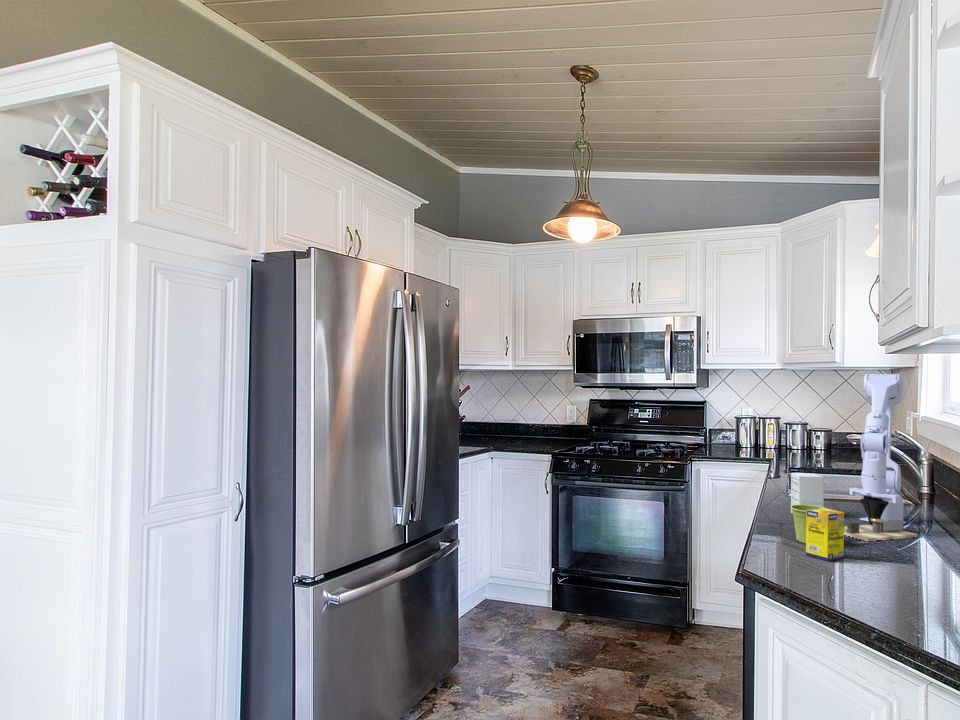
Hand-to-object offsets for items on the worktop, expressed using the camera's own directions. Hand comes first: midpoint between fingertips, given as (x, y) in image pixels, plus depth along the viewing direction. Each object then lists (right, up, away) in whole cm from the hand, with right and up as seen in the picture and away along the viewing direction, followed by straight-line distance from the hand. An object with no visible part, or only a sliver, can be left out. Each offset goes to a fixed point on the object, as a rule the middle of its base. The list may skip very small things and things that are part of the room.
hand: (874, 525), depth 194 cm
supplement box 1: (-9, -2, +21) cm, 23 cm away
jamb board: (-3, -2, -4) cm, 5 cm away
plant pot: (-25, -1, -14) cm, 28 cm away
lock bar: (+1, 0, -4) cm, 4 cm away
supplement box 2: (-28, -1, -30) cm, 41 cm away
